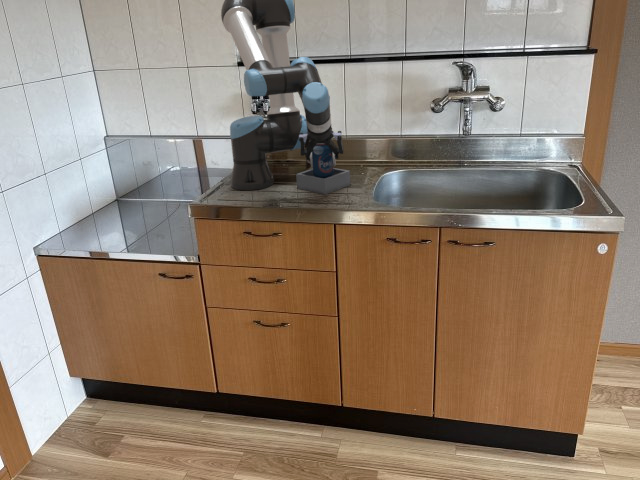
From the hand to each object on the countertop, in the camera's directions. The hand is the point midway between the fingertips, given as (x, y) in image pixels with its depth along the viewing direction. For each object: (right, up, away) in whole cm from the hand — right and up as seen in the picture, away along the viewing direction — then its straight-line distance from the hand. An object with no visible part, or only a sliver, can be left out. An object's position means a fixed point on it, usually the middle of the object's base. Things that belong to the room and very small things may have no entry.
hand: (323, 163), depth 187 cm
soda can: (0, -5, -2) cm, 6 cm away
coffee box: (-1, 0, +20) cm, 20 cm away
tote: (0, -8, 0) cm, 8 cm away
